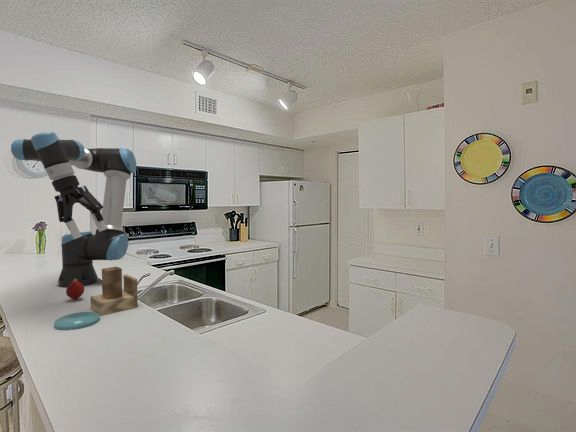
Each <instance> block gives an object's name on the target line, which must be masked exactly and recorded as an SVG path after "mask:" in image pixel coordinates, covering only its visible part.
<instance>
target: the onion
mask: <svg viewBox="0 0 576 432" xmlns="http://www.w3.org/2000/svg"><path fill="white" fill-rule="evenodd" d="M65 293H66V296H67V297H68V298H69V299H71V300H74V301H77V300H78V299H80V297H82V296H83V295H84V293H85V285H84V286H83V285H82V284H81V283H80V282H78V281H77V279H74V280H73V282H72V283H70V284H69V285H68V287H66V289H65Z"/></svg>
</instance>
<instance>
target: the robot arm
mask: <svg viewBox="0 0 576 432" xmlns="http://www.w3.org/2000/svg"><path fill="white" fill-rule="evenodd" d="M10 148H11V149H10V152H11V154H12V156H13V157H14V158H15V159H17V160H19V161H25V162H26V161H27V162H28V161H33V162H34V161H35V162H41V164H42V165H43V168H44V170H45V172H46V173H47V175H48V176H47V177H48V178H49V180H50V181H52V182H51V185H52V186H53V189H54V191H55V192H56V193H59V194H58V195H55V196H54V200H55V202H56V208H57V215H58V221H59V222H60V223H64V224H66V227H67V229H68V231H69V234H68V233H67V234H64V235H62V238H61V260H62V265H61V266H62V269H61V272H60V275H59V277H58V279H57V280H58V281H57V282H58V283H57V284H58V285H57V286H58V287H61V288H67V287H68V285H69V284H70V283H72V282H73V280H74V279H77V281H78V282H80V283H81V284H82V285H83V286H84V287H85V286H89V285H93V284H95V283H97V282H98V274H97V271H96V270H95V268H94V263H93V261H118V260H121V259H123V258H124V256H126V254H127V251H128V248H129V239H128V236H127V235H126V234H125V231H124V230H123V228H122V223H123V217H124V216H123V214H124V205H125V197H126V189H127V180H129V179H130V178H131V175H132V174H134V173H135V172H136V171H137V161H136V156H135V154H134V153H133V151H132V150H131V149H129V148H121V147H120V148H115V147H114V148H112V147H111V148H109V147H108V148H106V147H105V148H102V147H95V148H85V146H84V145H83V143H81V142H80V141H78V140H74V139H60V138H59V137H58V135H57V133H55V132H54V131H44V132H40V133H37V134H34V135H33V136H32V137H31V138H30V139H27V138H23V139H15V140H13V141H12V143H11V146H10ZM73 167H75V168H77V169H79V170H85V171H89V172H91V171H92V172H96V173H103V175H104V177H106V180H105V189H104V195H103V202H102V204H101V203H100V201H99V200H98V199H97V198H96V197H95V196H94V195H93V194H92V193H91V192H90V191H89V190H88V189H89V188H88V187H87V186H86V185H83V186H81V185H80V182H79V179H78V178H77V176H76V175H75V171H74V169H73ZM75 204H80V205H81V206H82V207H84V208H85V209H86V210H88V211H89V212H90V213H91V218H92V219H93V222H94V224H95V226H96V229H95V234H93V232H92V231H88V230H87V231H81V232H80V230H79V228H78V225H77V224H76V221H75V220H74V218H73V208H74V205H75ZM101 210H102V211H101Z"/></svg>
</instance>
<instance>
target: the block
mask: <svg viewBox="0 0 576 432" xmlns="http://www.w3.org/2000/svg"><path fill="white" fill-rule="evenodd" d="M101 291H102V292H101V294H102V297H104V298H105V299H107V300H108V299H113V298H118V297H122V291H123V269H122V268H121V267H119V266H112V267H111V266H110V267H103V268H101Z"/></svg>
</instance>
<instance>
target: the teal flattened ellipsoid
mask: <svg viewBox="0 0 576 432" xmlns="http://www.w3.org/2000/svg"><path fill="white" fill-rule="evenodd" d="M100 320H101V315H99V314H98V313H97V312H96V311H82V312H75V313H71V314H67V315H64V316H61V317H59V318H57V319H56V320H55V319H54V321H53V324H54V326H53V327H54V329H56V330H61V331H69V330H70V329H72V330H79V329H82V328H86V327H89V326H92V325H96V324H97V323H98V322H99V321H100Z"/></svg>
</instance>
